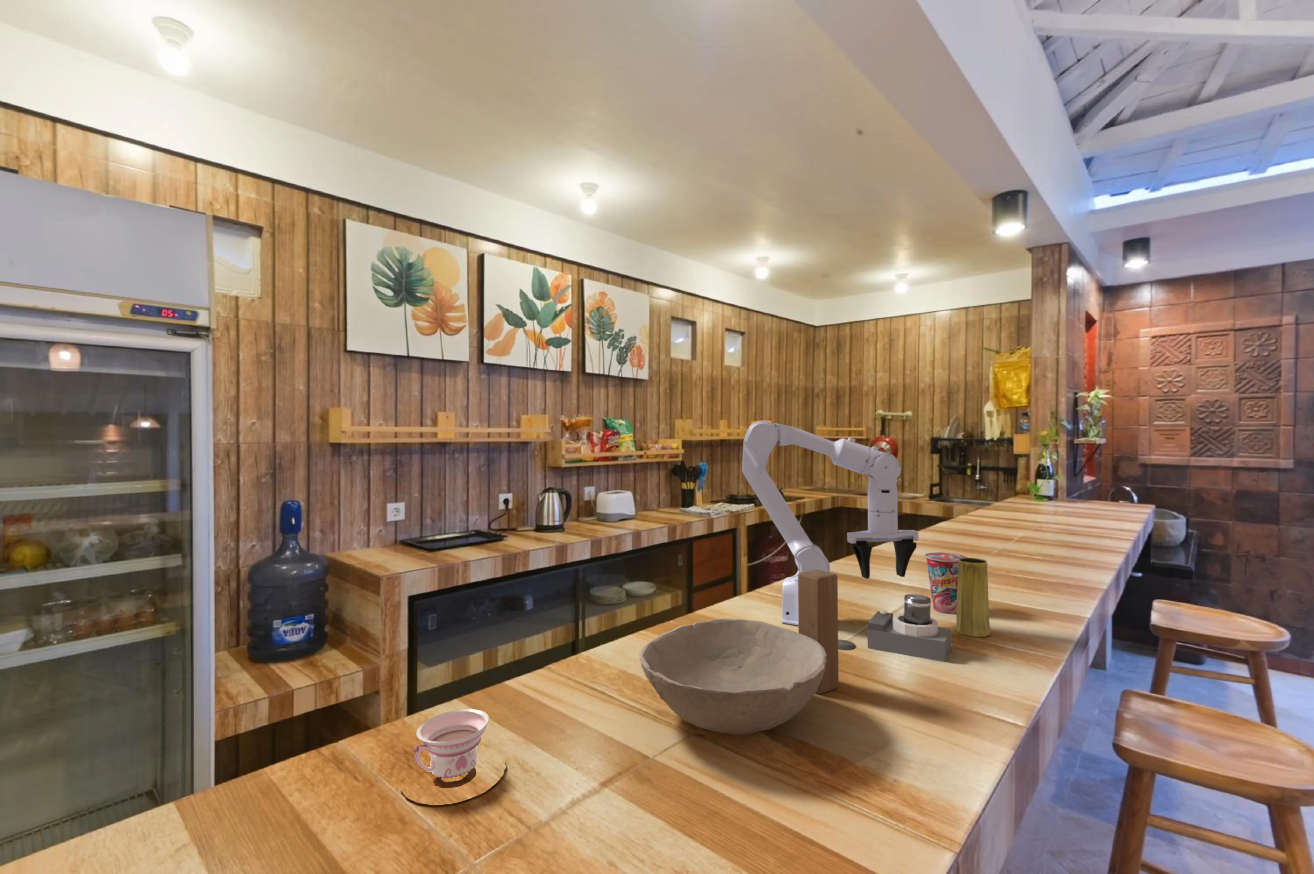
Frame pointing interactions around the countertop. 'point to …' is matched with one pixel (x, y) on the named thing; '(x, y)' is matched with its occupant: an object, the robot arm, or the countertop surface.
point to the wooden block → (820, 619)
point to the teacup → (451, 741)
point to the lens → (917, 609)
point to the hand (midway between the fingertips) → (883, 576)
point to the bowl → (734, 673)
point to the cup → (943, 580)
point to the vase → (972, 598)
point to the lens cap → (845, 645)
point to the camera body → (908, 637)
